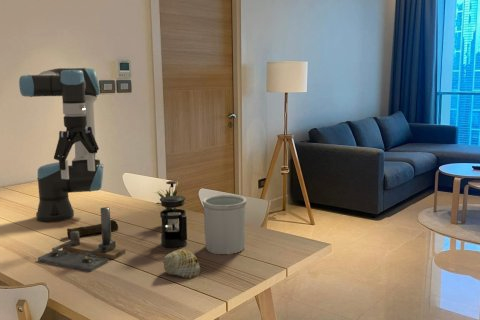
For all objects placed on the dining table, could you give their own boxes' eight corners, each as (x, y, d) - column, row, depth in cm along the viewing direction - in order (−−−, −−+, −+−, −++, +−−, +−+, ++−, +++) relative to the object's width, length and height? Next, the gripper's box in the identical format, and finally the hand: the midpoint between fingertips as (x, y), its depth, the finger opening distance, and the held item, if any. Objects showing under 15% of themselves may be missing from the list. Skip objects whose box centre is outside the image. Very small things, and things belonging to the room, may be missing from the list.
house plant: (156, 233, 186) (155, 192, 183) (146, 224, 198) (144, 185, 195) (191, 228, 192) (190, 187, 189) (179, 219, 204) (178, 181, 202)
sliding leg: (108, 246, 167) (106, 206, 164) (115, 247, 166) (113, 207, 163) (81, 259, 155) (79, 216, 153) (89, 260, 154) (86, 217, 151)
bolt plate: (56, 253, 166) (56, 249, 166) (108, 262, 157) (107, 258, 157) (37, 261, 159) (37, 257, 158) (91, 271, 150) (90, 267, 149)
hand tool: (68, 240, 180) (67, 228, 179) (67, 237, 183) (66, 225, 182) (119, 232, 188) (119, 221, 187) (117, 229, 192) (116, 218, 191)
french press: (154, 244, 174) (151, 181, 170) (174, 238, 180) (173, 177, 177) (174, 252, 166) (172, 186, 162) (195, 245, 172) (194, 182, 169)
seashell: (208, 270, 148) (195, 246, 143) (183, 292, 144) (169, 267, 139) (190, 259, 156) (178, 236, 151) (167, 279, 151) (153, 255, 147)
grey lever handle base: (75, 244, 174) (74, 228, 173) (125, 253, 165) (124, 236, 164) (45, 257, 162) (44, 240, 161) (98, 267, 153) (97, 249, 152)
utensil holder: (237, 257, 160) (237, 206, 157) (196, 252, 165) (195, 202, 162) (252, 243, 174) (252, 196, 171) (213, 239, 179) (213, 192, 176)
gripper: (57, 119, 156) (62, 183, 160) (106, 112, 178) (109, 168, 183) (39, 118, 159) (44, 181, 163) (90, 111, 181) (93, 166, 185)
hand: (78, 174), depth 173 cm, fingers open, 13 cm apart
